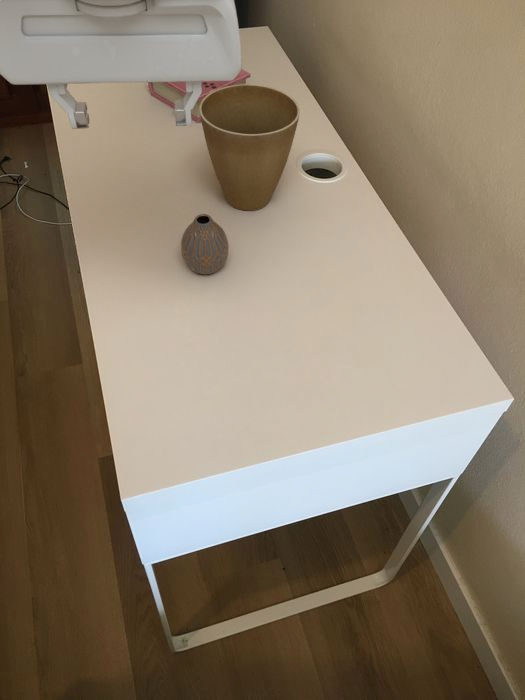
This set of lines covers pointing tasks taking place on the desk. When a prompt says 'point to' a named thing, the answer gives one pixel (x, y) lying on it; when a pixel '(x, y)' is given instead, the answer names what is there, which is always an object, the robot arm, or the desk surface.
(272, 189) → the plant pot
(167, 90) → the book
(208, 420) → the desk surface
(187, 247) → the vase
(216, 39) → the robot arm
